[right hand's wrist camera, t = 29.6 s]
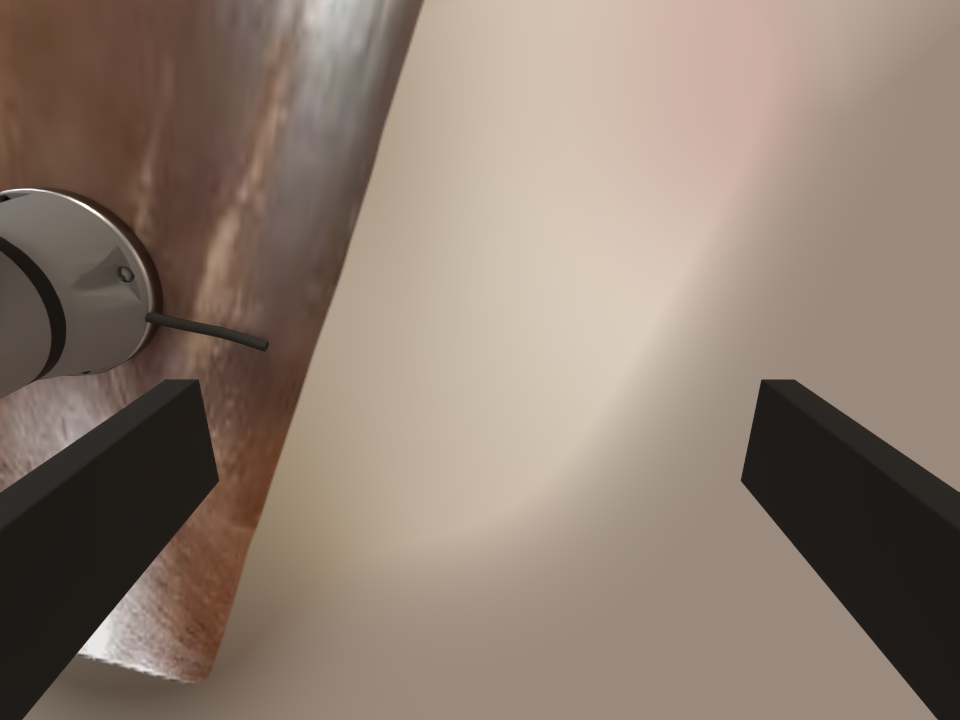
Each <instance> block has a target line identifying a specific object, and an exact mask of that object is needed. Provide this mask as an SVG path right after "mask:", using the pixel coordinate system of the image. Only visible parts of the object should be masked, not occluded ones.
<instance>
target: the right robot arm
mask: <svg viewBox="0 0 960 720" xmlns="http://www.w3.org/2000/svg"><path fill="white" fill-rule="evenodd" d="M161 312H162V291H161V285H160V281H159V277H158V274H157V271H156V268H155V266H154V263H153V261H152V259H151V257H150V255H149V253H148V252H147V250H146V248H145V247H144V245H143V244H142V242H141V241H140V240H139V238H138V237H137V236H136V235H135V233H134V232H133V231H132V230H131V229H130V228H129V227H128V226H127V225H126V224H125V223H124V222H123V221H122V220H121V219H120V218H119V217H117V216H116V215H115V214H113V213H112V212H111V211H109V210H108V209H106V208H105V207H103V206H102V205H100V204H98V203H97V202H95V201H93V200H91V199H89V198H86V197H84V196H82V195H79V194H76V193H73V192H69V191H65V190H60V189H54V188H28V189H13V190H7V191H3V192H0V398H2V397H4V396H6V395H8V394H10V393H12V392H14V391H16V390H18V389H20V388H22V387H24V386H26V385H28V384H30V383H32V382H34V381H36V380H41V379H48V378H53V377H57V376H80V375H91V374H97V373H101V372H104V371H107V370H110V369H112V368H114V367H116V366H118V365H120V364H122V363H124V362H125V361H127V360H129V359H131V358H132V357H134V356H136V355H137V354H138V353H139V352H141V351H142V350H143V349H144V348H145V347H146V346H147V345H148V343H149V342H150V341H151V339H152V338H153V336H154V334H155V332H156V330H157V328H158V325H162V326H167V327H171V328H176V329H180V330H185V331H190V332H195V333H200V334H205V335H210V336H215V337H219V338H223V339H227V340H230V341H234V342H237V343H240V344H243V345H246V346H249V347H252V348H255V349H258V350H262V351H266V350H267V348H268V342H267V341H264V340H261V339H258V338H255V337H252V336H249V335H246V334H242V333H239V332H236V331H232V330H229V329H225V328H221V327H217V326H213V325H208V324H203V323H198V322H193V321H188V320H184V319H179V318H175V317H170V316H166V315H162V314H161ZM218 482H219V477H218V473H217V468H216V463H215V458H214V453H213V448H212V443H211V438H210V433H209V429H208V424H207V419H206V414H205V409H204V404H203V399H202V394H201V389H200V384H199V380H164V381H163V382H161V383H160V384H158V385H157V386H156V387H154V388H153V389H151V390H150V391H148V392H147V393H145V394H144V395H142V396H141V397H139V398H138V399H137V400H135V401H134V402H132V403H131V404H129V405H128V406H126V407H125V408H123V409H122V410H120V411H119V412H118V413H116V414H115V415H113V416H112V417H110V418H109V419H107V420H106V421H104V422H103V423H101V424H100V425H99V426H97V427H96V428H94V429H93V430H91V431H90V432H88V433H87V434H85V435H84V436H82V437H81V438H80V439H78V440H77V441H75V442H74V443H72V444H71V445H69V446H68V447H66V448H65V449H63V450H62V451H61V452H59V453H58V454H56V455H55V456H53V457H52V458H50V459H49V460H47V461H46V462H44V463H43V464H42V465H40V466H39V467H37V468H36V469H34V470H33V471H31V472H30V473H28V474H27V475H26V476H24V477H23V478H21V479H20V480H18V481H17V482H15V483H14V484H12V485H11V486H9V487H8V488H7V489H5V490H4V491H2V492H1V493H0V720H22V719H23V718H24V717H25V716H26V714H27V713H28V712H29V711H30V710H31V708H32V707H33V706H34V705H35V703H36V702H37V701H38V700H39V699H40V697H41V696H42V695H43V694H44V693H45V691H46V690H47V689H48V688H49V687H50V685H51V684H52V683H53V682H54V681H55V679H56V678H57V677H58V676H59V674H60V673H61V672H62V671H63V670H64V668H65V667H66V666H67V665H68V664H69V662H70V661H71V660H72V659H73V657H74V656H75V655H76V654H77V653H78V651H79V650H80V649H81V648H82V647H83V645H84V644H85V643H86V642H87V640H88V639H89V638H90V637H91V636H92V634H93V633H94V632H95V631H96V630H97V628H98V627H99V626H100V625H101V624H102V622H103V621H104V620H105V619H106V617H107V616H108V615H109V614H110V613H111V611H112V610H113V609H114V608H115V607H116V605H117V604H118V603H119V602H120V600H121V599H122V598H123V597H124V596H125V594H126V593H127V592H128V591H129V590H130V588H131V587H132V586H133V585H134V583H135V582H136V581H137V580H138V579H139V577H140V576H141V575H142V574H143V573H144V571H145V570H146V569H147V568H148V567H149V565H150V564H151V563H152V562H153V560H154V559H155V558H156V557H157V556H158V554H159V553H160V552H161V551H162V550H163V548H164V547H165V546H166V545H167V543H168V542H169V541H170V540H171V539H172V537H173V536H174V535H175V534H176V533H177V531H178V530H179V529H180V528H181V526H182V525H183V524H184V523H185V522H186V520H187V519H188V518H189V517H190V516H191V514H192V513H193V512H194V511H195V509H196V508H197V507H198V506H199V505H200V503H201V502H202V501H203V500H204V499H205V497H206V496H207V495H208V494H209V493H210V491H211V490H212V489H213V488H214V486H215V485H216V484H217V483H218ZM741 482H742V483H743V484H744V485H745V486H746V488H747V489H748V490H749V491H750V493H751V494H752V495H753V496H754V497H755V499H756V500H757V501H758V502H759V503H760V505H761V506H762V507H763V508H764V509H765V511H766V512H767V513H768V514H769V516H770V517H771V518H772V519H773V520H774V522H775V523H776V524H777V525H778V526H779V528H780V529H781V530H782V531H783V533H784V534H785V535H786V536H787V537H788V539H789V540H790V541H791V542H792V543H793V545H794V546H795V547H796V548H797V550H798V551H799V552H800V553H801V554H802V556H803V557H804V558H805V559H806V560H807V562H808V563H809V564H810V565H811V567H812V568H813V569H814V570H815V571H816V573H817V574H818V575H819V576H820V577H821V579H822V580H823V581H824V582H825V583H826V585H827V586H828V587H829V588H830V590H831V591H832V592H833V593H834V594H835V596H836V597H837V598H838V599H839V600H840V602H841V603H842V604H843V605H844V607H845V608H846V609H847V610H848V611H849V612H850V614H851V615H852V616H853V617H854V619H855V620H856V621H857V622H858V623H859V625H860V626H861V627H862V628H863V630H864V631H865V632H866V633H867V634H868V636H869V637H870V638H871V639H872V640H873V642H874V643H875V644H876V645H877V647H878V648H879V649H880V650H881V651H882V653H883V654H884V655H885V656H886V657H887V659H888V660H889V661H890V662H891V664H892V665H893V666H894V667H895V668H896V670H897V671H898V672H899V673H900V674H901V676H902V677H903V678H904V679H905V680H906V682H907V683H908V684H909V685H910V687H911V688H912V689H913V690H914V691H915V693H916V694H917V695H918V696H919V697H920V699H921V700H922V701H923V702H924V704H925V705H926V706H927V707H928V708H929V710H930V711H931V712H932V713H933V714H934V716H935V717H936V718H937V719H938V720H960V492H958V491H956V490H955V489H953V488H952V487H951V486H949V485H948V484H946V483H945V482H943V481H942V480H940V479H939V478H937V477H936V476H934V475H933V474H932V473H930V472H929V471H927V470H926V469H924V468H923V467H921V466H920V465H918V464H917V463H915V462H914V461H913V460H911V459H910V458H908V457H907V456H905V455H904V454H902V453H901V452H899V451H898V450H897V449H895V448H894V447H892V446H891V445H889V444H888V443H886V442H885V441H883V440H882V439H880V438H879V437H877V436H876V435H875V434H873V433H872V432H870V431H869V430H867V429H866V428H864V427H863V426H861V425H860V424H859V423H857V422H856V421H854V420H853V419H851V418H850V417H848V416H847V415H845V414H844V413H842V412H841V411H839V410H838V409H837V408H835V407H834V406H832V405H831V404H829V403H828V402H826V401H825V400H823V399H822V398H821V397H819V396H817V395H816V394H815V393H813V392H812V391H810V390H809V389H807V388H806V387H804V386H803V385H802V384H800V383H799V382H797V381H796V380H761V384H760V389H759V394H758V399H757V404H756V409H755V414H754V419H753V424H752V429H751V433H750V438H749V443H748V448H747V453H746V458H745V463H744V468H743V473H742V478H741Z"/></svg>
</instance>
